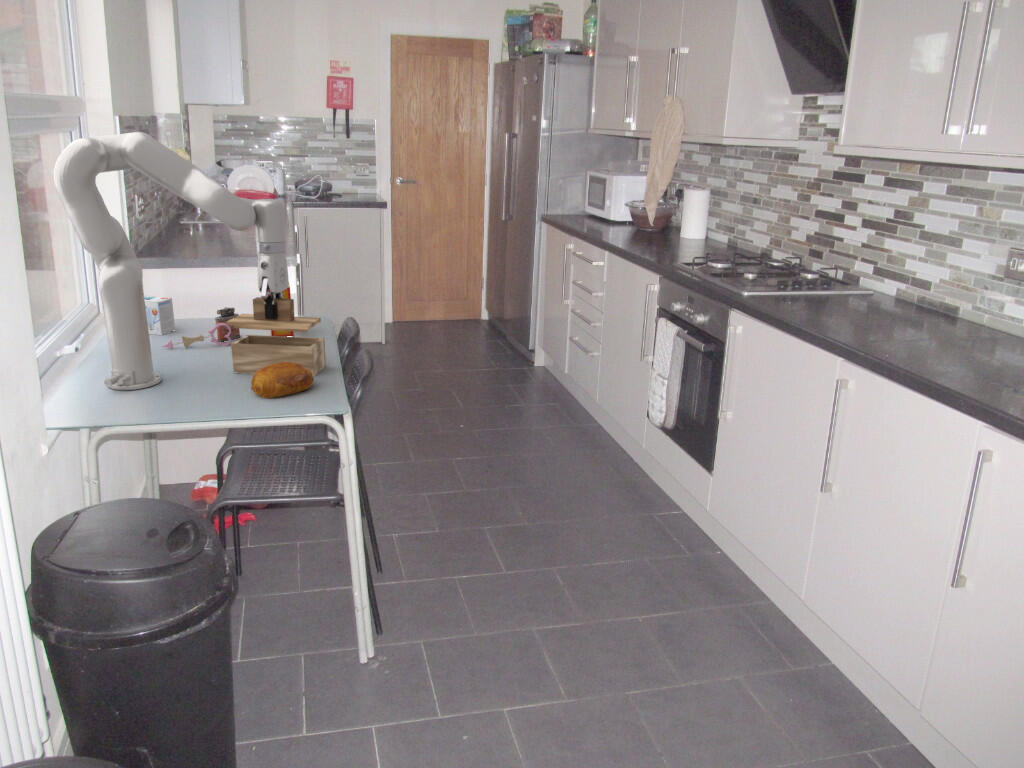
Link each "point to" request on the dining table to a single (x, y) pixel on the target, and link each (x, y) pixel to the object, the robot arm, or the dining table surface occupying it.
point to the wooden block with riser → (282, 323)
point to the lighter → (223, 330)
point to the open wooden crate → (277, 352)
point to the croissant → (281, 380)
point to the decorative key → (201, 338)
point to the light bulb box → (159, 315)
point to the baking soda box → (283, 333)
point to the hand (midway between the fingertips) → (274, 316)
